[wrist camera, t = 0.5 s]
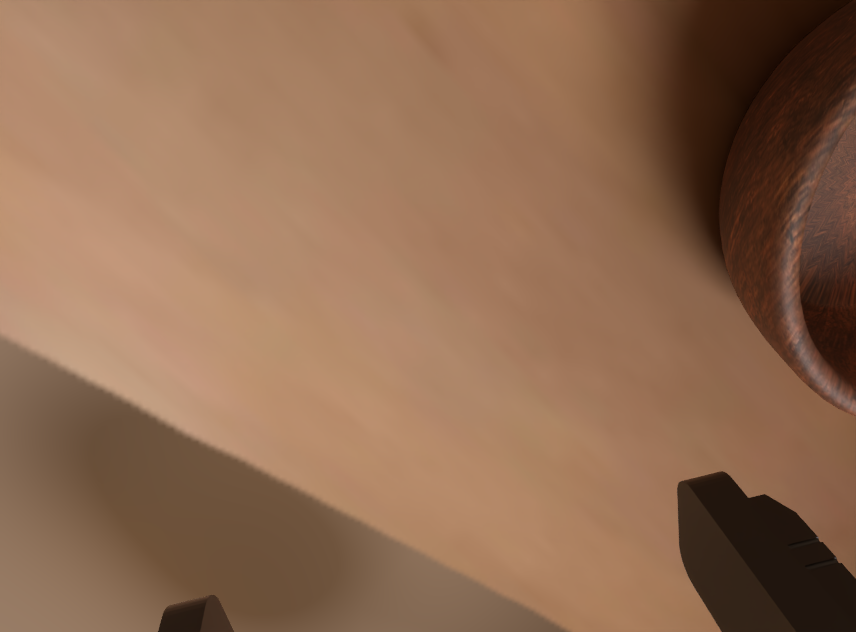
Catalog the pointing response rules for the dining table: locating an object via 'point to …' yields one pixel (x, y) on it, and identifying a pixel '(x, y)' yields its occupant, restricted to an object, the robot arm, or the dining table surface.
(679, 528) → the robot arm
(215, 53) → the dining table surface
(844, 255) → the wooden bowl
